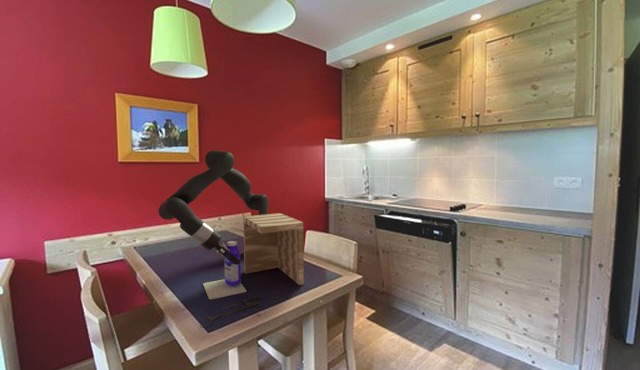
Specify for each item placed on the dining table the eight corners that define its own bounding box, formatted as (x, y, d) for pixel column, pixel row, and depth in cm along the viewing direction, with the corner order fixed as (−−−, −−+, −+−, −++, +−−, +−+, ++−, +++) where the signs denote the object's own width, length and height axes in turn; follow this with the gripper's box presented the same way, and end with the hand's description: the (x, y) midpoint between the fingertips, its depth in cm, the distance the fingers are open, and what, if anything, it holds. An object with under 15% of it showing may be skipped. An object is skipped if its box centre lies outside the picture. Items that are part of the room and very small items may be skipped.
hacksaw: (260, 297, 113) (260, 294, 113) (272, 308, 105) (272, 304, 105) (194, 316, 100) (193, 312, 99) (201, 330, 91) (201, 325, 91)
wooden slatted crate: (244, 272, 138) (243, 216, 136) (280, 265, 147) (279, 213, 145) (262, 293, 115) (261, 227, 113) (303, 284, 124) (303, 222, 122)
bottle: (222, 282, 123) (221, 241, 121) (234, 278, 127) (234, 239, 125) (230, 287, 118) (230, 245, 116) (243, 283, 122) (243, 242, 120)
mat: (203, 284, 124) (202, 283, 124) (236, 277, 131) (236, 276, 131) (209, 299, 110) (209, 298, 110) (246, 291, 117) (246, 290, 117)
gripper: (216, 232, 111) (247, 257, 117) (209, 225, 123) (238, 248, 130) (201, 248, 108) (233, 273, 115) (196, 239, 121) (225, 262, 127)
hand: (236, 260), depth 122 cm, fingers closed on bottle, 7 cm apart
